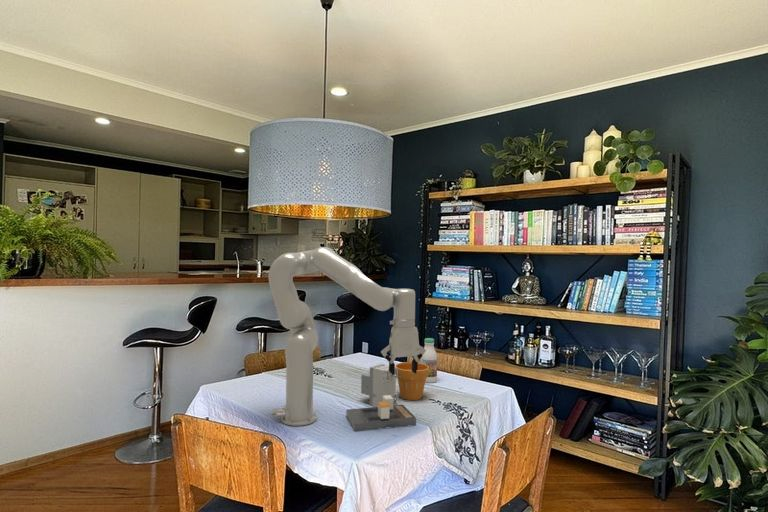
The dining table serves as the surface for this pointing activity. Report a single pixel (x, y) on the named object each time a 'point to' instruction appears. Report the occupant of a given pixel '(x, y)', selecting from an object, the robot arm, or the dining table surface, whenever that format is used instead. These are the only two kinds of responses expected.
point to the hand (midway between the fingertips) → (403, 372)
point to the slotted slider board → (371, 420)
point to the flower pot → (411, 380)
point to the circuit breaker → (379, 384)
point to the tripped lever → (383, 410)
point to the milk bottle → (430, 360)
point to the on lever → (388, 400)
